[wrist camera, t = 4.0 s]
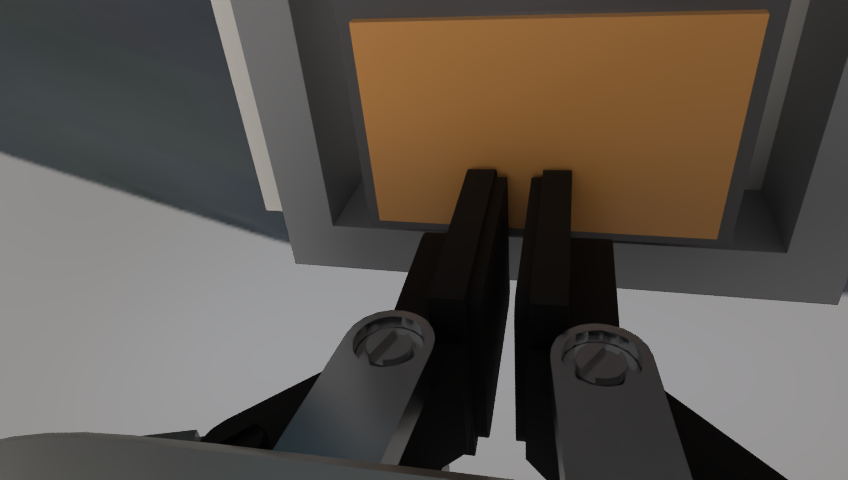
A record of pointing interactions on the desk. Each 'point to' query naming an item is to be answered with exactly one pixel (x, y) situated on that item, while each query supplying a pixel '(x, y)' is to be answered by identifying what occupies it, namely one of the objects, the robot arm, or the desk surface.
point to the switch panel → (634, 261)
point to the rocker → (562, 107)
